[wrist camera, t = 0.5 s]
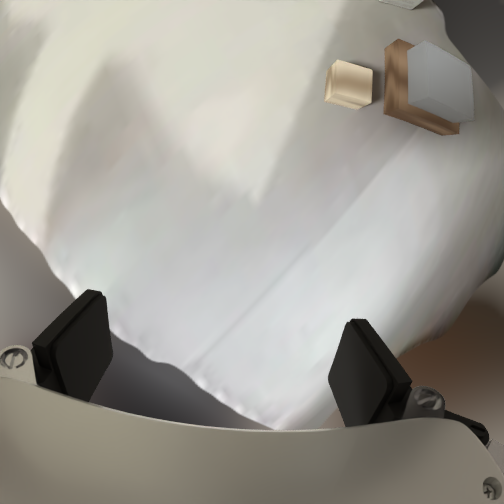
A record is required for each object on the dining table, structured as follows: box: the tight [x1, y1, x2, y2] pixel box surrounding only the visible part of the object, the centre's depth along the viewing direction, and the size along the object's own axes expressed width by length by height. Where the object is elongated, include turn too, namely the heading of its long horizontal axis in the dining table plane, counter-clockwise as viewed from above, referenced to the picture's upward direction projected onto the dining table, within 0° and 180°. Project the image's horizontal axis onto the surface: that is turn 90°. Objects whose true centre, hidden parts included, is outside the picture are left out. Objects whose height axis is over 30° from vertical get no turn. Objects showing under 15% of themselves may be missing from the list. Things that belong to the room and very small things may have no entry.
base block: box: [383, 39, 459, 136], centre depth 32 cm, size 12×12×5 cm
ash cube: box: [324, 60, 373, 110], centre depth 31 cm, size 5×5×5 cm
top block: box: [407, 40, 474, 123], centre depth 27 cm, size 9×9×5 cm
